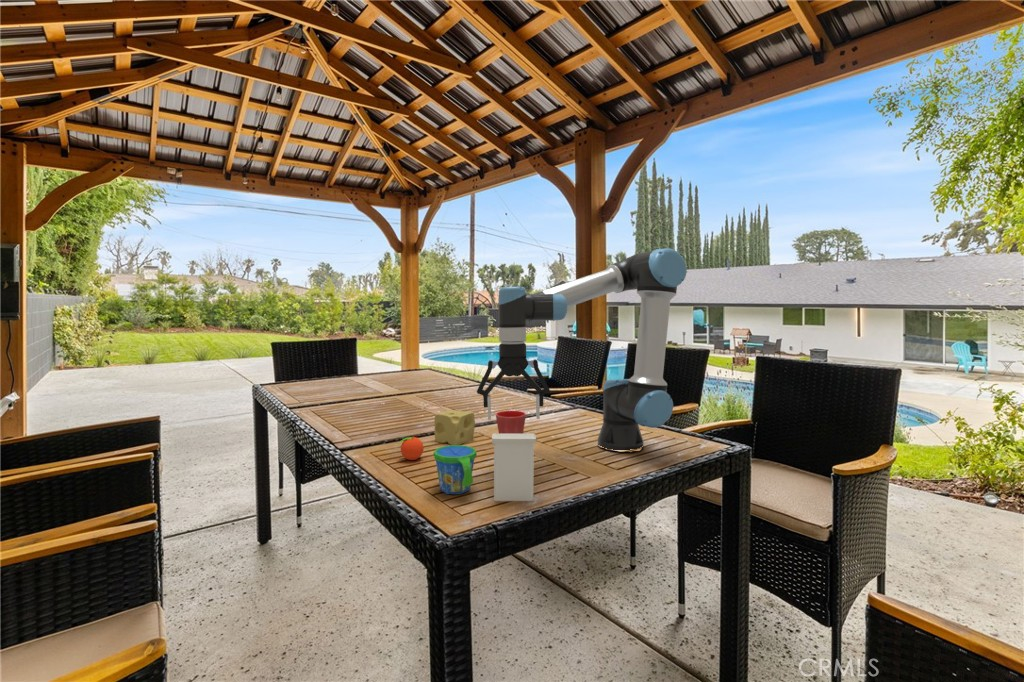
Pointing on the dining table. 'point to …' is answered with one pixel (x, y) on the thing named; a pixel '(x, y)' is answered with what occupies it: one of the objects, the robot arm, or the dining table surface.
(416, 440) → the clementine
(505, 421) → the flower pot
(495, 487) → the tall white pillar
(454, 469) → the snack cup
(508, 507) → the dining table surface
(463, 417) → the cheese
